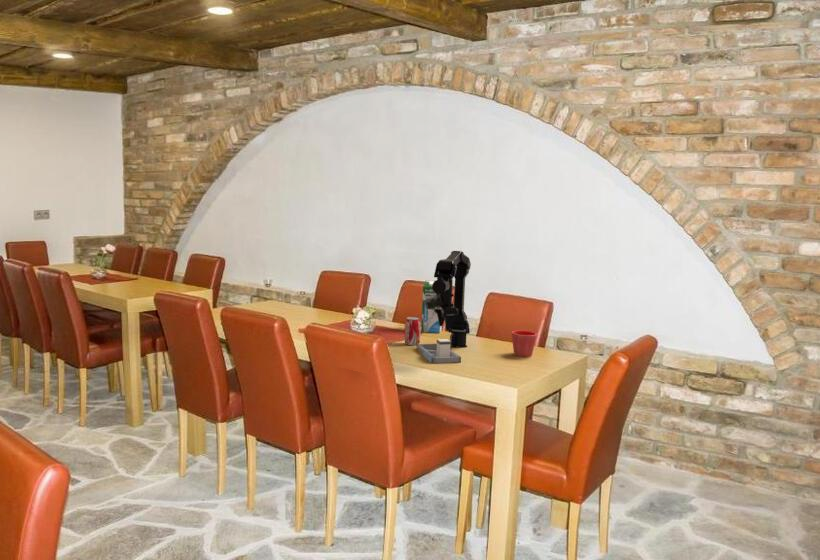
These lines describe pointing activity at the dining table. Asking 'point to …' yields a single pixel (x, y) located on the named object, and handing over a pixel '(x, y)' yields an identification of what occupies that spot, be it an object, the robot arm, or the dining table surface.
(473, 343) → the dining table surface
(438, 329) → the milk carton
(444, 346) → the cylinder
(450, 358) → the grey divided tray
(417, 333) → the soda can
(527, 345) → the flower pot
